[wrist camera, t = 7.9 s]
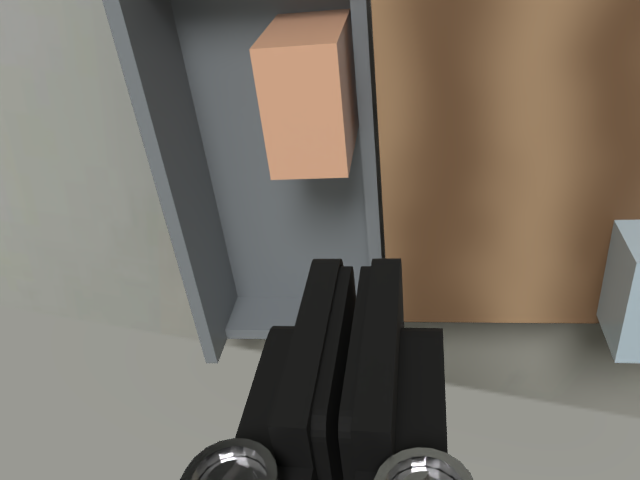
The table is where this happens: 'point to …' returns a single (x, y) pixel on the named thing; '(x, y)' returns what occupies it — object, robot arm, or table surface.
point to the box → (241, 162)
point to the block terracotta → (307, 94)
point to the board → (506, 152)
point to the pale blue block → (622, 293)
